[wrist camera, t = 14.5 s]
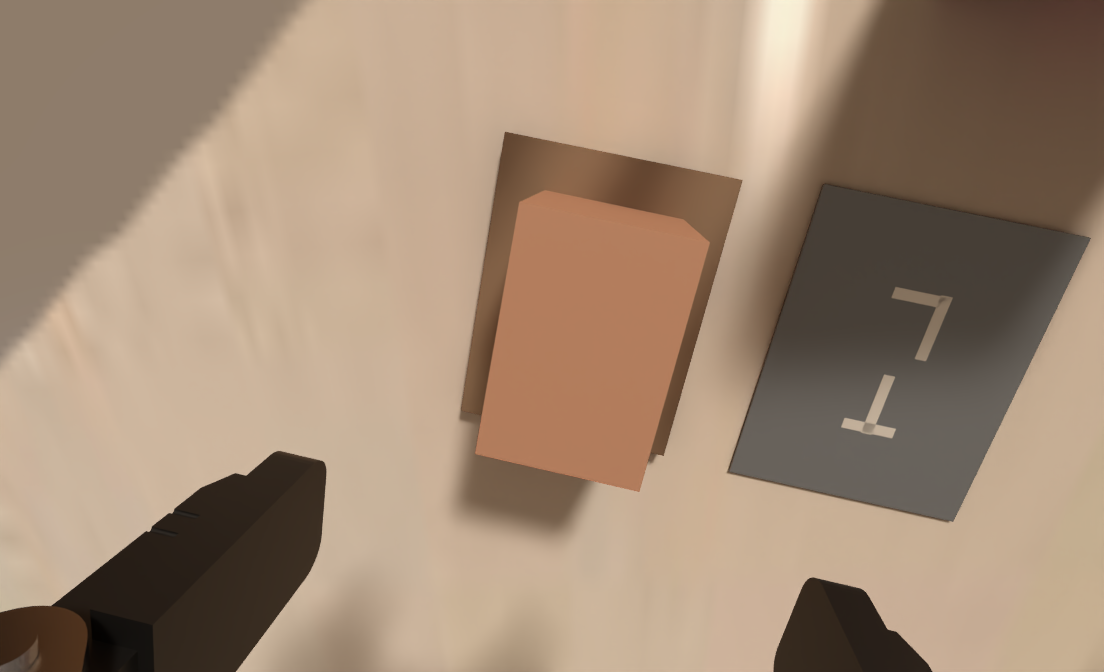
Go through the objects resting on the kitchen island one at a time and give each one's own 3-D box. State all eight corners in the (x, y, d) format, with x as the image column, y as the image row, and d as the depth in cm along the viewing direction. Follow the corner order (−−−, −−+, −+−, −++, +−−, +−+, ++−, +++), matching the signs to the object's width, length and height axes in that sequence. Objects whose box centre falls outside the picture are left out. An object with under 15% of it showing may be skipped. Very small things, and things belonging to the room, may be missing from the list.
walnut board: (737, 179, 25) (742, 180, 24) (661, 445, 29) (663, 455, 28) (509, 133, 25) (504, 131, 24) (466, 402, 29) (461, 410, 28)
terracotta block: (683, 219, 24) (709, 242, 18) (632, 409, 27) (639, 491, 20) (544, 190, 25) (519, 201, 18) (508, 381, 27) (474, 453, 21)
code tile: (1087, 237, 24) (1091, 238, 24) (951, 519, 28) (953, 521, 28) (823, 183, 24) (824, 184, 24) (728, 469, 29) (729, 471, 28)
